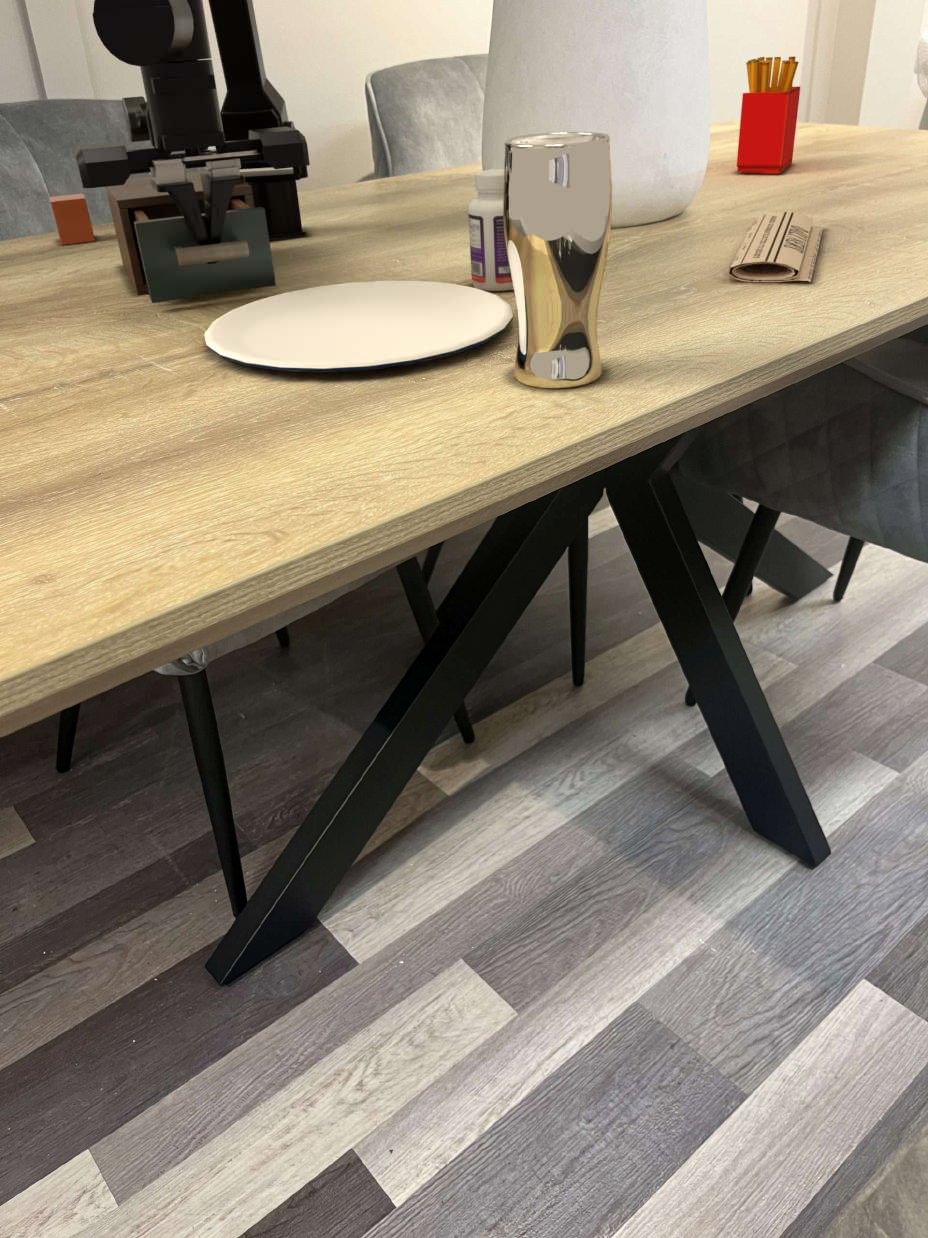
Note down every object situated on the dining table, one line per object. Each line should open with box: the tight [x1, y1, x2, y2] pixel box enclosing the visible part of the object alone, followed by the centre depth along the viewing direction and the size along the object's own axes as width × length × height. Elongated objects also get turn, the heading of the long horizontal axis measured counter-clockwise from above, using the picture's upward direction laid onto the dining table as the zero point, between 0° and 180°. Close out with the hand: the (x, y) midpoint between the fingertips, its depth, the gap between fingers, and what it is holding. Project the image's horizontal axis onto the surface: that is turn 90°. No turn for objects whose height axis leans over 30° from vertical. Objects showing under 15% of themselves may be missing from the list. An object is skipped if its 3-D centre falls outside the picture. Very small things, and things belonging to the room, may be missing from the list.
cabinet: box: [105, 170, 254, 296], centre depth 102 cm, size 15×13×9 cm
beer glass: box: [503, 131, 613, 389], centre depth 65 cm, size 7×7×15 cm
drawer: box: [129, 196, 277, 304], centre depth 93 cm, size 18×11×7 cm, turn 22°
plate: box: [203, 280, 514, 373], centre depth 81 cm, size 25×25×1 cm
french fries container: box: [736, 55, 802, 174], centre depth 138 cm, size 7×9×14 cm
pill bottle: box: [467, 168, 514, 292], centre depth 90 cm, size 5×5×10 cm
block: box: [49, 193, 96, 246], centre depth 121 cm, size 4×4×5 cm
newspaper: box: [728, 211, 824, 283], centre depth 97 cm, size 24×7×2 cm, turn 161°
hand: (211, 262), depth 88 cm, fingers closed, pressing on drawer
